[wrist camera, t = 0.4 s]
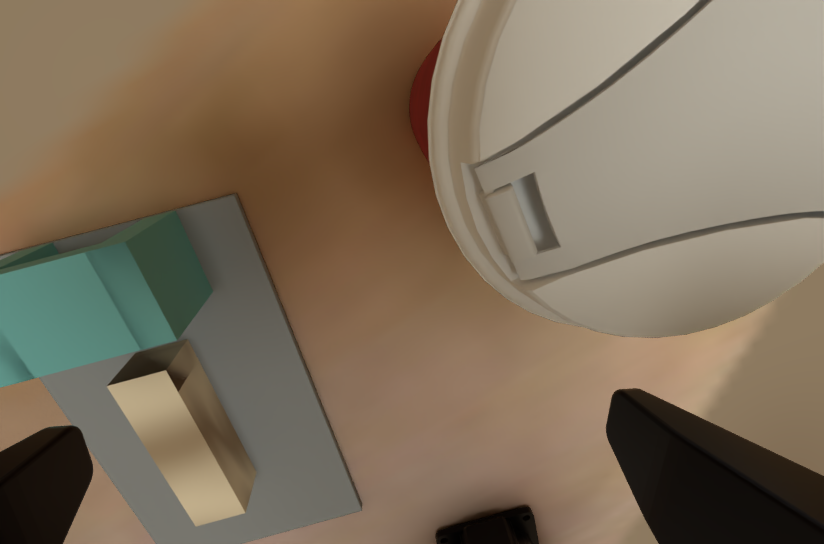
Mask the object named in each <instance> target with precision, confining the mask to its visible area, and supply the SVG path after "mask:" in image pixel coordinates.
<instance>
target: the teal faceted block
mask: <svg viewBox="0 0 824 544" xmlns="http://www.w3.org/2000/svg"><path fill="white" fill-rule="evenodd" d="M212 293H213V290H212V288H211V286H210V284H209V282H208V279H207V277H206V275H205V273H204V271H203V269H202V267H201V264H200V262H199V260H198V258H197V256H196V254H195V252H194V249H193V247H192V245H191V243H190V241H189V239H188V236H187V234H186V232H185V230H184V228H183V226H182V224H181V221H180V219H179V217H178V215H177V213H176V211H171V212H167V213H163V214H159V215H155V216H152V217H148V218H144V219H142V220H140V221H139V222H137V223H135V224H133V225H132V226H130V227H128V228H126V229H125V230H123V231H121V232H119V233H118V234H116V235H114V236H112V237H111V238H109V239H107V240H105V241H104V242H102V243H99V244H96V245H92V246H88V247H84V248H80V249H77V250H73V251H69V252H65V253H61V254H59V253H58V251H57V249H56V248H55V246H54V244H53V243H48V244H45V245H41V246H37V247H33V248H29V249H26V250H22V251H19V252H17V253H15V254H12V255H10V256H8V257H6V258H4V259H1V260H0V387H4V386H8V385H12V384H15V383H19V382H23V381H27V380H30V379H34V378H38V377H42V376H45V375H49V374H53V373H57V372H60V371H64V370H68V369H72V368H75V367H79V366H83V365H87V364H90V363H94V362H98V361H102V360H105V359H109V358H113V357H117V356H120V355H124V354H128V353H132V352H135V351H139V350H143V349H147V348H150V347H154V346H158V345H162V344H166V343H169V342H173V341H177V340H178V339H179V337H180V336H181V335H182V333H183V332H184V330H185V329H186V328H187V326H188V325H189V324H190V322H191V321H192V320H193V318H194V317H195V316H196V314H197V313H198V312H199V310H200V309H201V308H202V306H203V305H204V303H205V302H206V301H207V299H208V298H209V297H210V295H211V294H212Z"/></svg>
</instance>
